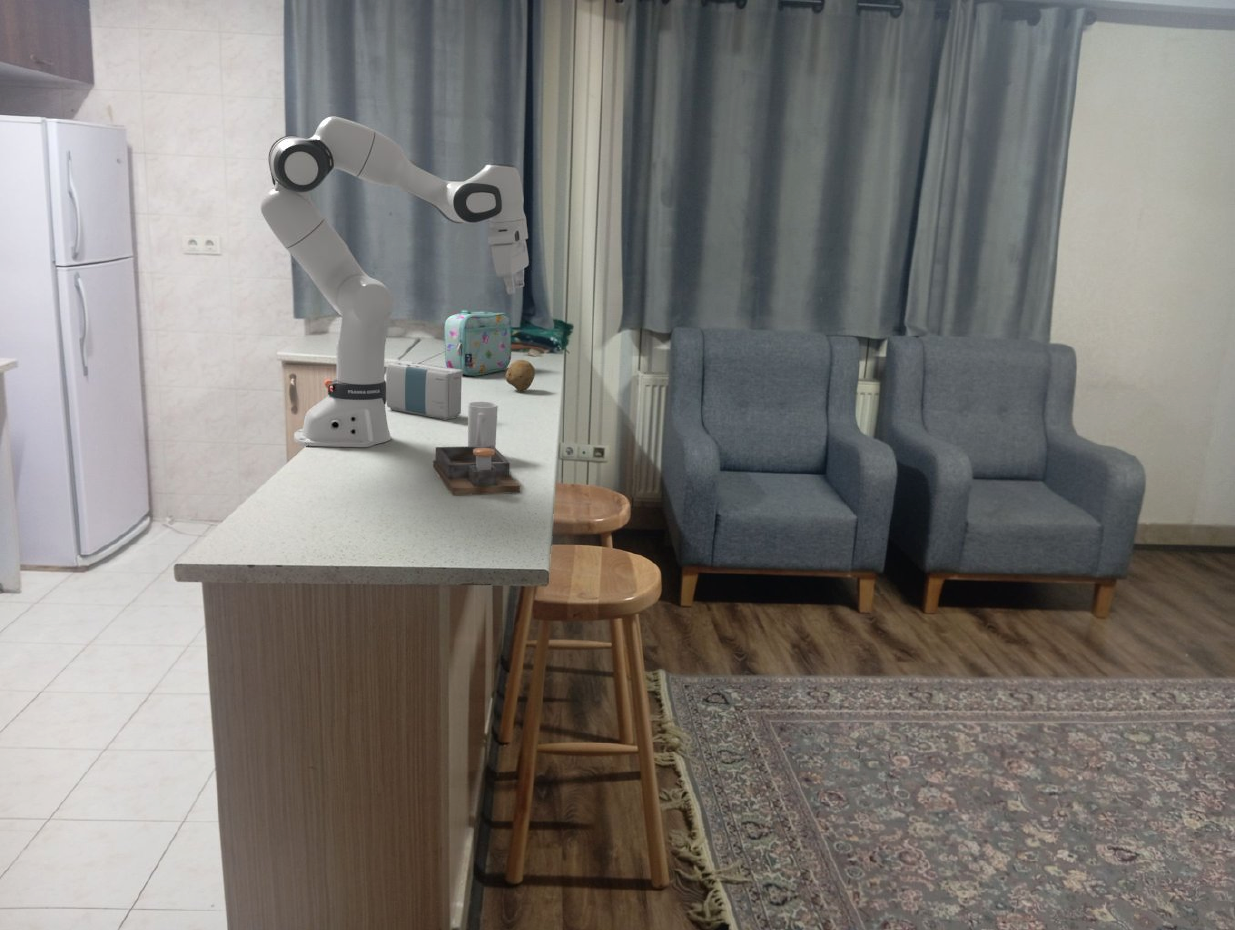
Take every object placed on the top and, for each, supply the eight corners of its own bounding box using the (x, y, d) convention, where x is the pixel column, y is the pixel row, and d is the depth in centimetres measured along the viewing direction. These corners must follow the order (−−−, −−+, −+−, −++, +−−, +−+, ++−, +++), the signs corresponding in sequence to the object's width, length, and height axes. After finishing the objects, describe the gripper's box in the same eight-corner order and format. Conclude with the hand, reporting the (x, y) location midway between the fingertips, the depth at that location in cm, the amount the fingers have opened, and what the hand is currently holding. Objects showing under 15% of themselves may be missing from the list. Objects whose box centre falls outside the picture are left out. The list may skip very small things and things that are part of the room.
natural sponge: (504, 393, 312) (505, 361, 309) (506, 387, 320) (507, 356, 318) (533, 394, 312) (534, 362, 309) (534, 389, 321) (536, 358, 318)
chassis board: (452, 495, 204) (453, 473, 203) (433, 466, 224) (433, 447, 222) (519, 492, 209) (520, 471, 208) (494, 465, 229) (495, 445, 227)
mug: (469, 450, 240) (470, 400, 237) (497, 452, 240) (499, 402, 237) (463, 461, 230) (464, 409, 227) (492, 462, 230) (494, 411, 227)
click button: (475, 476, 206) (475, 453, 205) (470, 470, 210) (471, 447, 208) (496, 475, 207) (497, 452, 206) (491, 469, 211) (492, 447, 210)
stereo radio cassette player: (384, 410, 277) (384, 337, 272) (404, 406, 284) (404, 335, 279) (446, 422, 268) (447, 347, 263) (464, 417, 275) (466, 344, 270)
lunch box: (463, 379, 330) (465, 313, 325) (439, 375, 335) (441, 310, 330) (513, 370, 352) (516, 309, 347) (490, 366, 357) (492, 305, 352)
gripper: (506, 229, 254) (513, 284, 258) (485, 238, 234) (493, 297, 239) (531, 227, 253) (537, 283, 257) (512, 236, 233) (519, 296, 238)
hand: (515, 290), depth 248 cm, fingers open, 8 cm apart
